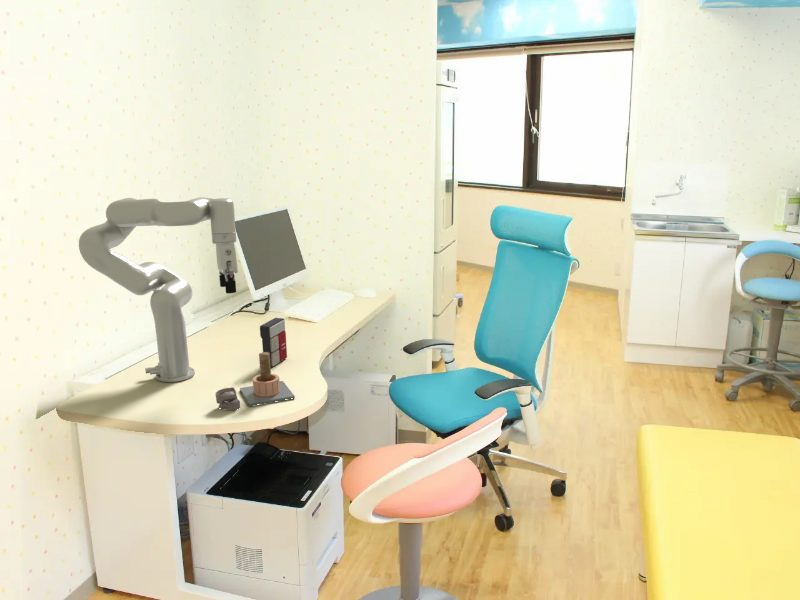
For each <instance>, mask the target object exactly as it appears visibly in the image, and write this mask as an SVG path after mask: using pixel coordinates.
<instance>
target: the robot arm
mask: <svg viewBox="0 0 800 600" xmlns="http://www.w3.org/2000/svg"><path fill="white" fill-rule="evenodd" d="M105 217H106V221H105V222H104V223H101V224H98V225H95V226H91V227H89V228H87V229H86V230H84V231H83V232H82V233H81V235H80V236H79V240H78V250H79V253H80V256H81V257H82V260H84V261H85V263H86V264H87V265H88V266H89V267H90V268H92V269H94V270H95V271H97V272H98V273H100V274H102V275H104V276H106V277H107V278H108V279H110V280H112V281H113V282H114V283H116V284H118V285H120V286H121V287H123V288H124V289H126V290H127V291H129V292H130V293H132V294H133V295H137V296H144V295H147V294H149V293H151V292H152V294H151V296H150V301H149V302H150V303H149V304H150V308H151V312H152V316H153V321H154V327H155V334H156V336H155V337H156V344H157V352H158V353H157V354H158V355H157V356H158V362H157V364H156V365H154V366H152V367H144V368H145V369H144V370H145V374H149V375H150V376H152V375H155V379H156V380H157V381H159V382H164V383H175V382H176V383H178V382H183V381H185V380H189V379H191V378H192V377H194V375H195V374H196V372H195V371H196V370H195V368H193V367H190V359H189V351H188V349H189V348H188V339H187V329H186V321H185V317H184V315H183V312H182V308H183V307H184V306H186V305H187V304H188V303H189V302H190V301H191V300H192V297H193V290H192V289H193V288H192V286H191V284H189V282H188V281H186V280H185V279H183V278H182V277H181V276H179V275H178V274H176V273H175V272H173V271H171V270H169V269H168V268H166V267H164V266H163V265H161V264H160V263H157V262H154V261H145V262H143V263H142V262H141V264H138V263H135V262H134V261H133V260H130V259H128V258H127V257H126V256H124V255H123V254H120V253H117V252H114V251H113V250H111V249H114V248H117V247H118V246H119V245H121V244H122V243H123V242H124V241H125V240H126V239H127V238H128V237H129V236H130V234H131V233H132V232H133V231H134V229H136V227H153V226H157V227H158V226H159V227H181V226H182V227H185V226H187V227H188V226H194V225H195V226H196V225H198V224H200V223H203V222H206V221H209V220H210V230H211V243H212V244H215V249H216V250H215V251H216V252H215V254H216V264H217V265H216V266H217V269H218V271H219V272H218V273H219V286H220V288H225V293H226V295H228V294H236V293H237V286H236V285H237V284H236V282H237V281H236V277H235V274H237V273H238V272H239V269H238V263H237V251H236V247H235V246H236V245H235V244H236V242H237V232H236V219H235V218H236V217H235V203H234V201H233V200H232V199H231V198H227V197H226V198H225V197H223V198H222V197H221V198H219V197H218V198H211V197H210V198H209V197H205V196H204V197H203V196H202V197H201V196H200V197H196V198H192V199H189V200H184V201H161V200H159V199H157V198H144V199H140V198H139V199H137V198H133V197H127V198H126V197H125V198H122V199H118V200H115V201H112V202H111V203H109V205H108V206H107V207H106V209H105Z"/></svg>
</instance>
